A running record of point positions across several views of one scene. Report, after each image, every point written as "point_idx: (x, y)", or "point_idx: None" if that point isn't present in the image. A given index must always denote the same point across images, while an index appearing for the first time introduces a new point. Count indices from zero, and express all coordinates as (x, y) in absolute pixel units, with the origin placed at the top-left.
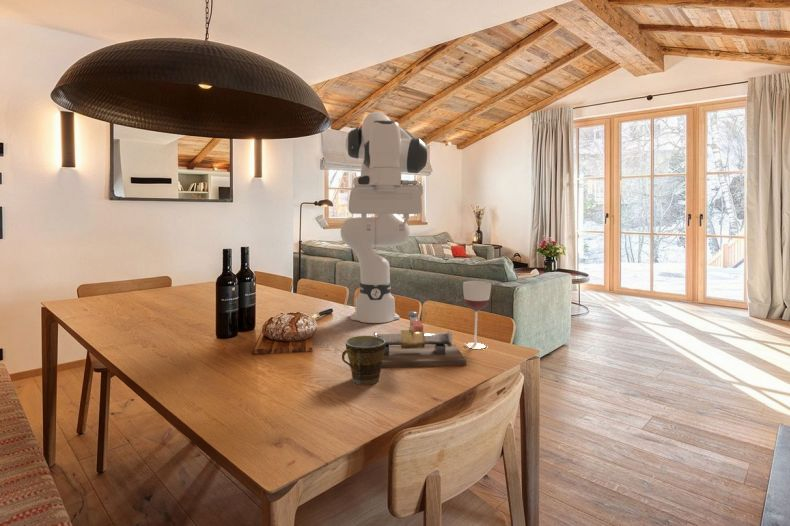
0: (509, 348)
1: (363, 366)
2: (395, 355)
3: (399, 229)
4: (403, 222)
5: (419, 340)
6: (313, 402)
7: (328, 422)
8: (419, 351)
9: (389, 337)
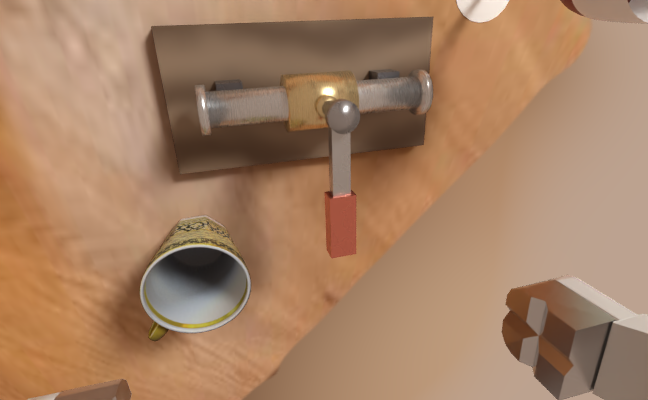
0: (553, 11)
1: (198, 295)
2: None
3: (515, 311)
4: (627, 392)
5: None
6: (115, 344)
7: (165, 392)
8: None
9: (250, 122)
